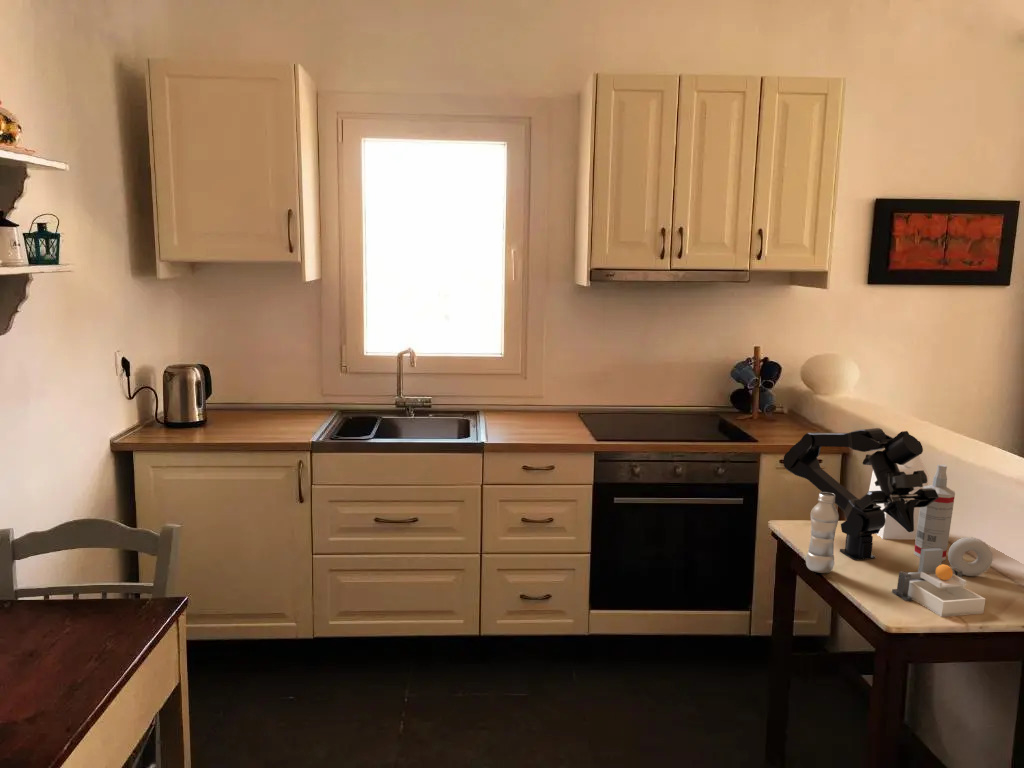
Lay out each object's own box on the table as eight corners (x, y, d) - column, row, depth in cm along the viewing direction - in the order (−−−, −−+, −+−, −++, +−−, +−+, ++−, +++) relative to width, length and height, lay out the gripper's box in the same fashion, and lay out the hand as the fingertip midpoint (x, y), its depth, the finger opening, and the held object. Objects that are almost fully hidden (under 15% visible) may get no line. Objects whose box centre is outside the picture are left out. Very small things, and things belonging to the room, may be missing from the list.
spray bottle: (933, 562, 210) (946, 470, 206) (907, 552, 216) (919, 462, 212) (952, 558, 214) (965, 467, 209) (926, 548, 220) (938, 460, 216)
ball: (931, 576, 187) (933, 562, 186) (943, 575, 188) (945, 561, 187) (942, 583, 183) (944, 568, 183) (955, 582, 184) (957, 567, 184)
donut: (987, 575, 203) (993, 538, 201) (991, 581, 200) (997, 542, 198) (943, 569, 206) (949, 532, 204) (947, 575, 202) (952, 537, 201)
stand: (891, 592, 191) (894, 569, 190) (948, 588, 194) (951, 565, 193) (906, 601, 186) (909, 577, 185) (964, 597, 190) (967, 573, 189)
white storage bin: (905, 595, 189) (907, 581, 189) (946, 592, 192) (948, 578, 191) (941, 616, 179) (943, 602, 178) (983, 613, 181) (985, 598, 181)
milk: (901, 525, 239) (913, 439, 234) (923, 539, 227) (935, 450, 223) (862, 524, 238) (872, 438, 233) (882, 538, 226) (893, 449, 222)
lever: (885, 582, 195) (890, 540, 193) (928, 579, 198) (934, 538, 196) (926, 607, 182) (932, 563, 180) (972, 603, 185) (979, 560, 183)
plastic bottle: (835, 577, 198) (844, 499, 194) (806, 574, 199) (815, 496, 196) (830, 567, 204) (839, 491, 200) (802, 564, 205) (810, 489, 202)
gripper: (871, 460, 195) (896, 520, 187) (938, 457, 199) (965, 516, 190) (848, 480, 204) (870, 538, 196) (912, 477, 208) (937, 534, 200)
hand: (911, 531), depth 195 cm, fingers closed
